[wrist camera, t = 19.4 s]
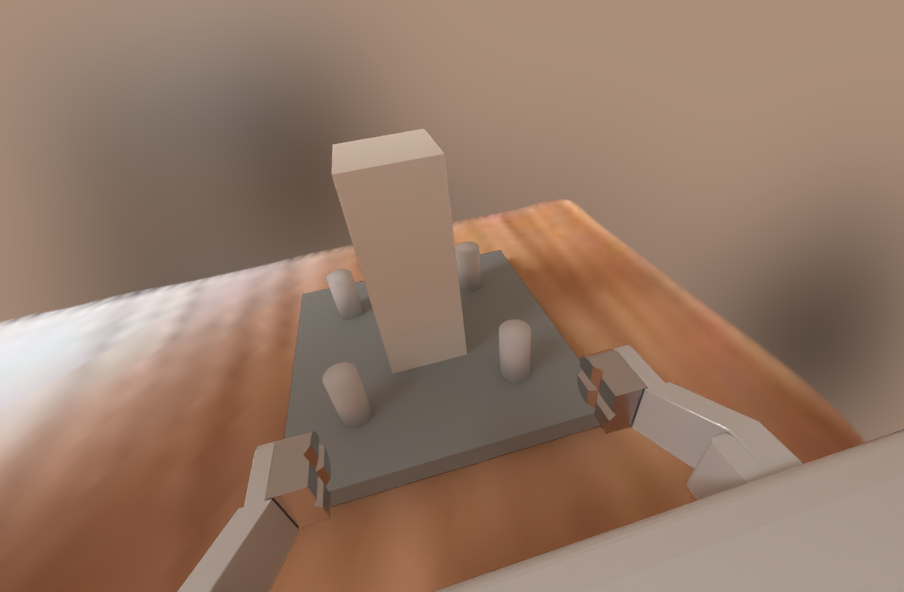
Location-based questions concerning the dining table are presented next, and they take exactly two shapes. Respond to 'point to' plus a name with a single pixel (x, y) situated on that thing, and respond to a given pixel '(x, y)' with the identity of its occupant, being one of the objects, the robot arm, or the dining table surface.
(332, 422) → the peg cradle
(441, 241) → the cream post
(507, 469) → the dining table surface
